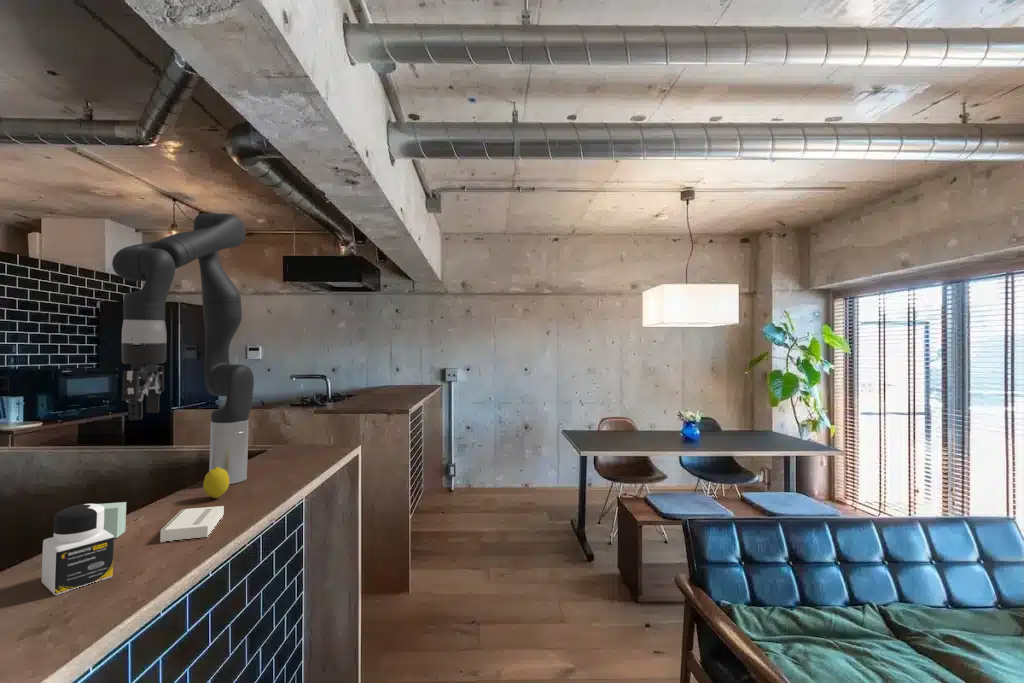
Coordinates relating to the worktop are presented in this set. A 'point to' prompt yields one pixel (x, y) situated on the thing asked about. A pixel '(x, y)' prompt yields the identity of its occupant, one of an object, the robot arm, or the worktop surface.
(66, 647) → the worktop surface
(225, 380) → the robot arm
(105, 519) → the pale green block
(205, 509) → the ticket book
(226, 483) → the lemon
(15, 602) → the worktop surface
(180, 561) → the worktop surface
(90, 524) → the medicine bottle
